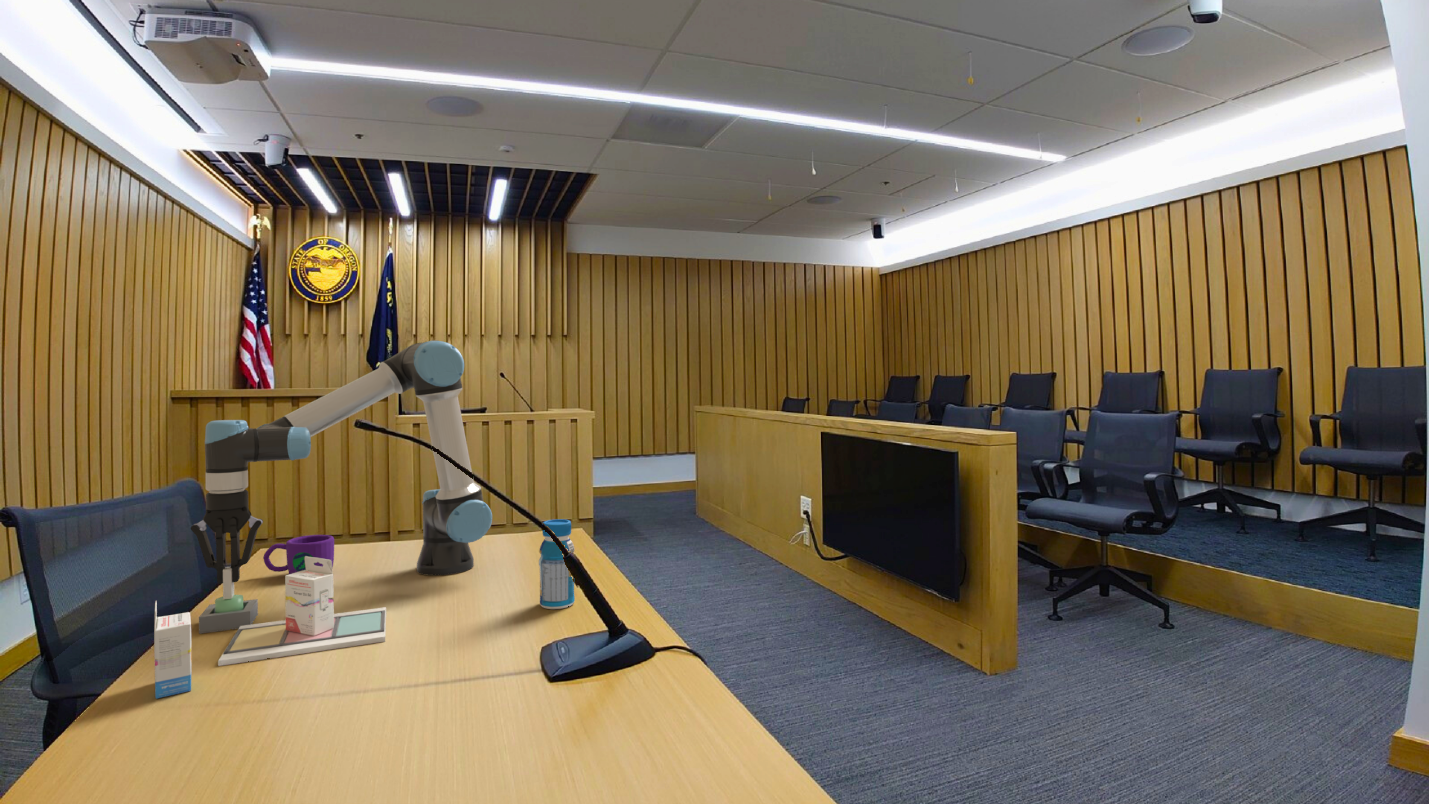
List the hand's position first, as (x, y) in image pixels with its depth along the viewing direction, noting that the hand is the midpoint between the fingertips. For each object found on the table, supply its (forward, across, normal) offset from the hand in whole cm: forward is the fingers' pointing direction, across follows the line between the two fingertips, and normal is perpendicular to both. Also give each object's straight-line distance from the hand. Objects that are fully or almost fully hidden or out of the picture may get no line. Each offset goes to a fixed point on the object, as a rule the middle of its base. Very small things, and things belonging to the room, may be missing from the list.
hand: (228, 597), depth 147 cm
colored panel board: (+6, -17, +16) cm, 24 cm away
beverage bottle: (+6, -68, +18) cm, 71 cm away
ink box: (+6, +2, +33) cm, 34 cm away
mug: (+6, -9, -37) cm, 39 cm away
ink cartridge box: (+5, -17, +16) cm, 24 cm away
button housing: (+6, 0, 0) cm, 6 cm away
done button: (+5, 0, 0) cm, 5 cm away
